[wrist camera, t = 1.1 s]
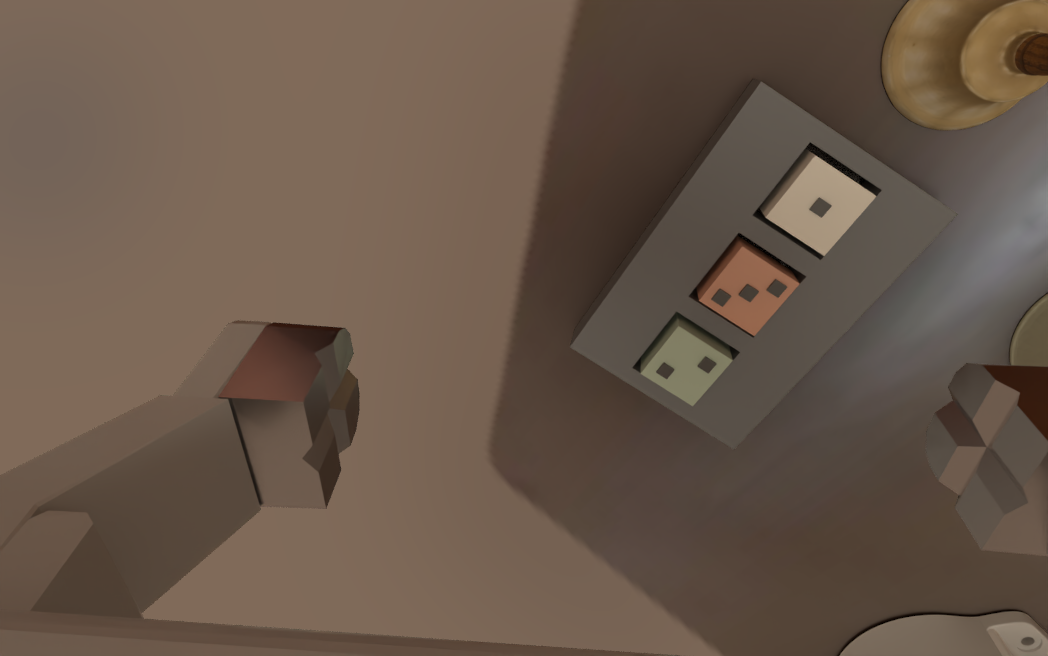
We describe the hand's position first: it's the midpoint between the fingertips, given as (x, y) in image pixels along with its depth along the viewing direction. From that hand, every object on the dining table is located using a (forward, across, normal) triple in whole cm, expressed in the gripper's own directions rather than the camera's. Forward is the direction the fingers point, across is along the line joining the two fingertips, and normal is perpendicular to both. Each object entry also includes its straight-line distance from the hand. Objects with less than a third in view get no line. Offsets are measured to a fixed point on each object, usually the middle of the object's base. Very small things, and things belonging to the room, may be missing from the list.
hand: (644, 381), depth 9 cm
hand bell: (+32, +20, -1) cm, 38 cm away
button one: (+29, +14, -9) cm, 34 cm away
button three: (+29, +11, -14) cm, 34 cm away
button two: (+28, +8, -20) cm, 35 cm away
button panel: (+30, +11, -15) cm, 35 cm away
